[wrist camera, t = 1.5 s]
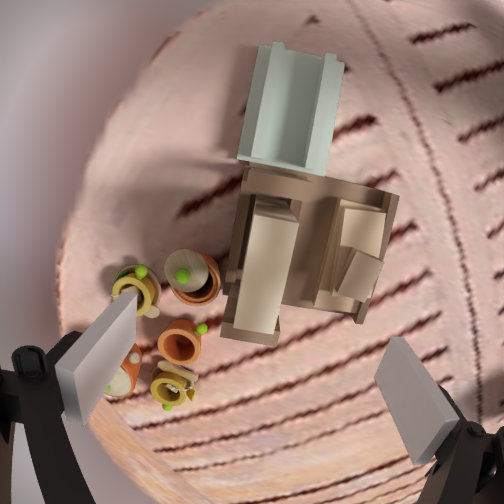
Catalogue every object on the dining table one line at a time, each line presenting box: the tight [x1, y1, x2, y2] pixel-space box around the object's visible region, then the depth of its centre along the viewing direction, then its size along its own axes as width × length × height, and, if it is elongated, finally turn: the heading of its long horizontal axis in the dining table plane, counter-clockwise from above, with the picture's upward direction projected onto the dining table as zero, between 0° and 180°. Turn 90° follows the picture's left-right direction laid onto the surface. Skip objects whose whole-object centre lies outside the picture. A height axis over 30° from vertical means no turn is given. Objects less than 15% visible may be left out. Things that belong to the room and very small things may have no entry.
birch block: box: [233, 195, 299, 334], centre depth 31 cm, size 3×9×14 cm, turn 170°
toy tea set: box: [104, 249, 220, 411], centre depth 38 cm, size 26×16×10 cm, turn 161°
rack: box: [220, 162, 400, 346], centre depth 33 cm, size 17×16×12 cm
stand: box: [237, 41, 345, 177], centre depth 32 cm, size 10×14×4 cm
